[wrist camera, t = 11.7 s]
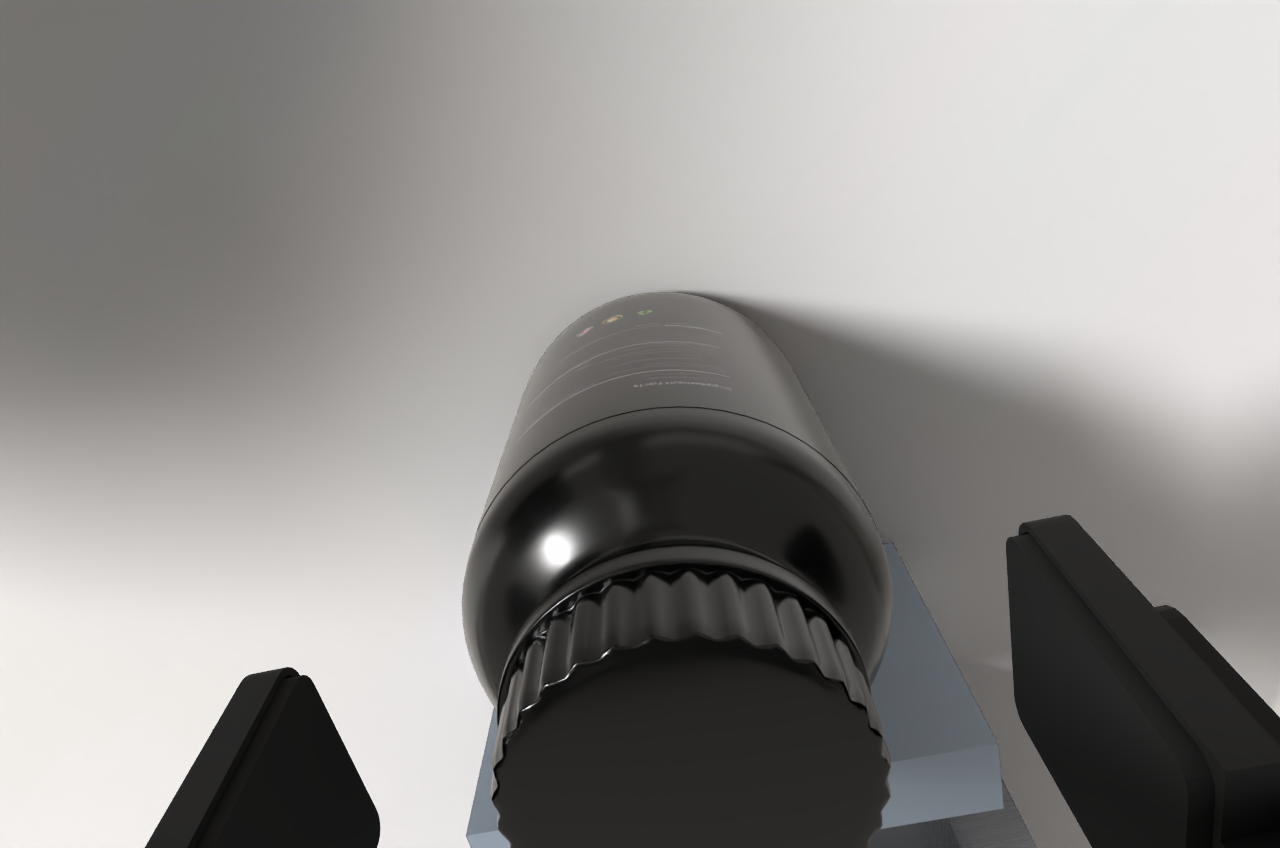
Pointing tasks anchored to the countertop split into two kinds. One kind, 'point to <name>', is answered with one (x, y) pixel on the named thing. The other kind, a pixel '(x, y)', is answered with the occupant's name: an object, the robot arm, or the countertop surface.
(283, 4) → the countertop surface
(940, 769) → the gauge plunger
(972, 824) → the box
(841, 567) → the supplement bottle
